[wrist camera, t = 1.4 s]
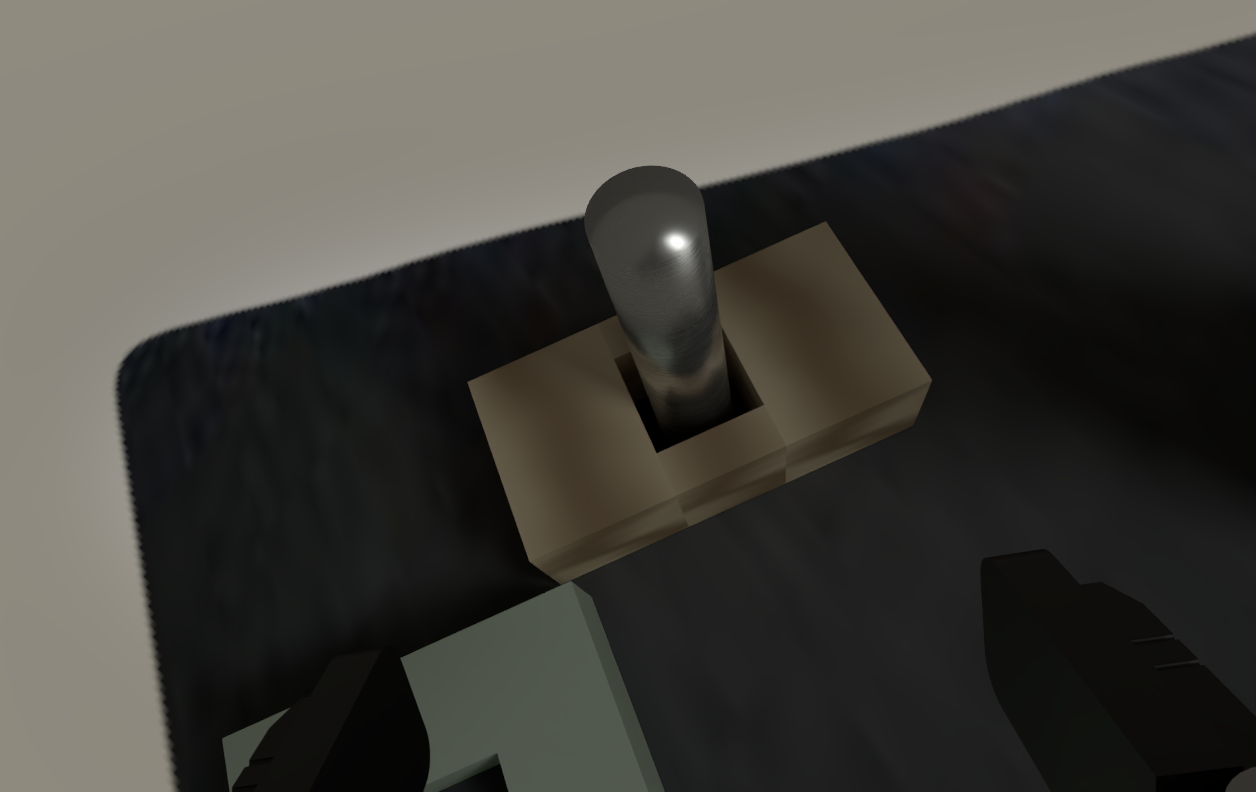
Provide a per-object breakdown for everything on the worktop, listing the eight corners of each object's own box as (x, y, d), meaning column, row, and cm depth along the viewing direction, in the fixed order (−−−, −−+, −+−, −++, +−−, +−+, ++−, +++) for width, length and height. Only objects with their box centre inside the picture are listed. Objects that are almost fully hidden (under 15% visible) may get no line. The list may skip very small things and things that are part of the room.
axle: (715, 379, 35) (675, 148, 21) (747, 440, 33) (725, 234, 20) (650, 409, 35) (567, 196, 21) (678, 471, 33) (610, 285, 20)
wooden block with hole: (820, 280, 36) (825, 221, 32) (913, 425, 32) (932, 380, 28) (502, 423, 36) (467, 382, 32) (560, 584, 32) (529, 561, 28)
